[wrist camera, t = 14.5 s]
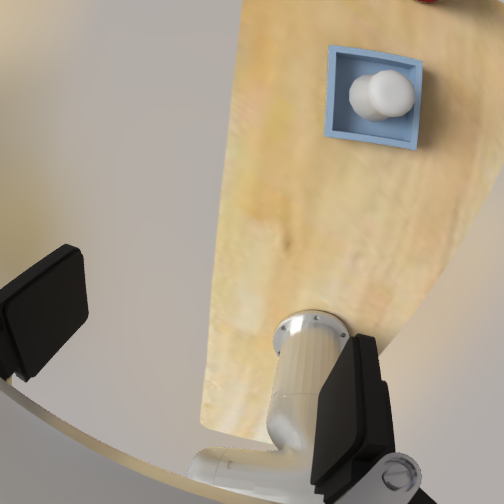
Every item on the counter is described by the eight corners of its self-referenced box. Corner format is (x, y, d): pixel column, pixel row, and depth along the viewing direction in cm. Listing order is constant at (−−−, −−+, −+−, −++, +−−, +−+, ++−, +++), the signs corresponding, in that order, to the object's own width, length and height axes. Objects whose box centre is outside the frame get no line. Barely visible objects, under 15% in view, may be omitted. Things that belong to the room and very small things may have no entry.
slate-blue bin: (407, 146, 35) (416, 150, 32) (323, 134, 37) (324, 136, 34) (413, 65, 31) (422, 61, 27) (328, 51, 32) (329, 44, 29)
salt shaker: (359, 67, 32) (378, 47, 20) (400, 91, 32) (436, 83, 20) (339, 106, 35) (350, 103, 23) (380, 129, 35) (408, 138, 23)
